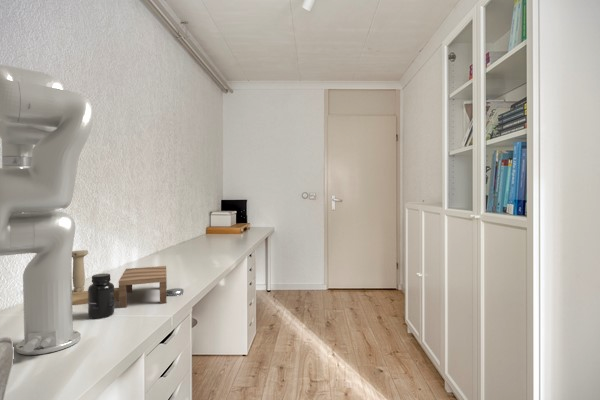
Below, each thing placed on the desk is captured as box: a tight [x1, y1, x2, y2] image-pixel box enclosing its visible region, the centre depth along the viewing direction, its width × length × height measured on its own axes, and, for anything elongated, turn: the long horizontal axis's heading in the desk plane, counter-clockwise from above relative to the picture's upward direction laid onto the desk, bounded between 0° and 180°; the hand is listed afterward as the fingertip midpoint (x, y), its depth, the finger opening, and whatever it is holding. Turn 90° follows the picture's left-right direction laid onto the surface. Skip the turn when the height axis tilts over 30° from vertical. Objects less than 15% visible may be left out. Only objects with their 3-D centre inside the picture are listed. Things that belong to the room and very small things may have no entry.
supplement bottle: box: [87, 273, 115, 319], centre depth 109 cm, size 7×7×12 cm
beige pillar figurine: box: [72, 249, 89, 292], centre depth 138 cm, size 5×6×15 cm
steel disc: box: [166, 287, 185, 297], centre depth 132 cm, size 6×6×2 cm
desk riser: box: [118, 265, 168, 309], centre depth 128 cm, size 22×14×8 cm, turn 20°
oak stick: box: [72, 287, 119, 306], centre depth 122 cm, size 2×24×4 cm, turn 115°
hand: (19, 220), depth 110 cm, fingers open, 9 cm apart
